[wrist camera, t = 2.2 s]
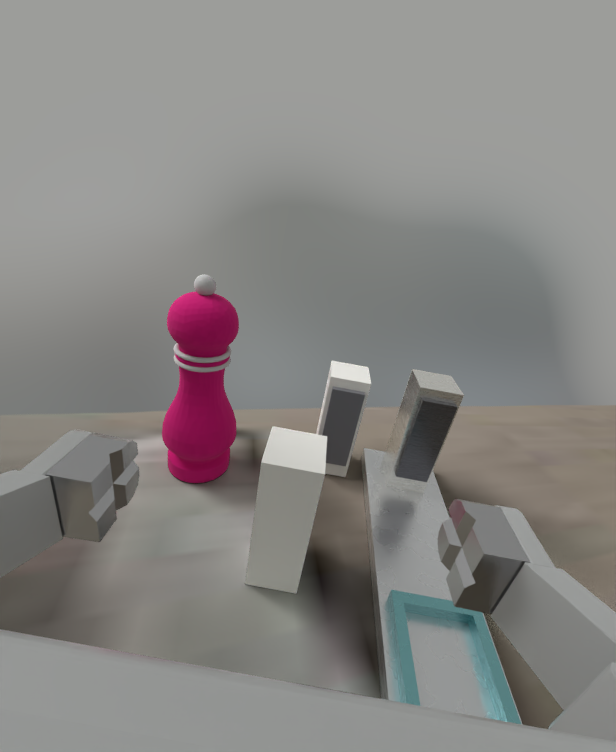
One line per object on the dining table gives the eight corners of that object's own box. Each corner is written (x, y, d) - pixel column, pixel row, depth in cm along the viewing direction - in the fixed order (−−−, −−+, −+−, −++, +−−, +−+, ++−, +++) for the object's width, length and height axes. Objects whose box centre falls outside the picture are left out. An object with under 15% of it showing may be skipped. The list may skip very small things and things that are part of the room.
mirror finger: (310, 474, 39) (330, 379, 34) (313, 448, 43) (331, 360, 38) (345, 481, 39) (371, 386, 34) (345, 454, 43) (368, 367, 38)
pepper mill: (172, 439, 40) (171, 261, 32) (236, 444, 41) (251, 272, 33) (153, 485, 34) (145, 277, 25) (229, 489, 35) (246, 291, 26)
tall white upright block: (245, 584, 27) (261, 462, 22) (257, 534, 31) (273, 421, 26) (296, 593, 27) (325, 474, 22) (302, 542, 31) (327, 431, 26)
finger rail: (390, 809, 18) (495, 672, 12) (361, 457, 43) (390, 357, 37) (546, 839, 18) (728, 716, 12) (425, 469, 43) (464, 371, 37)
